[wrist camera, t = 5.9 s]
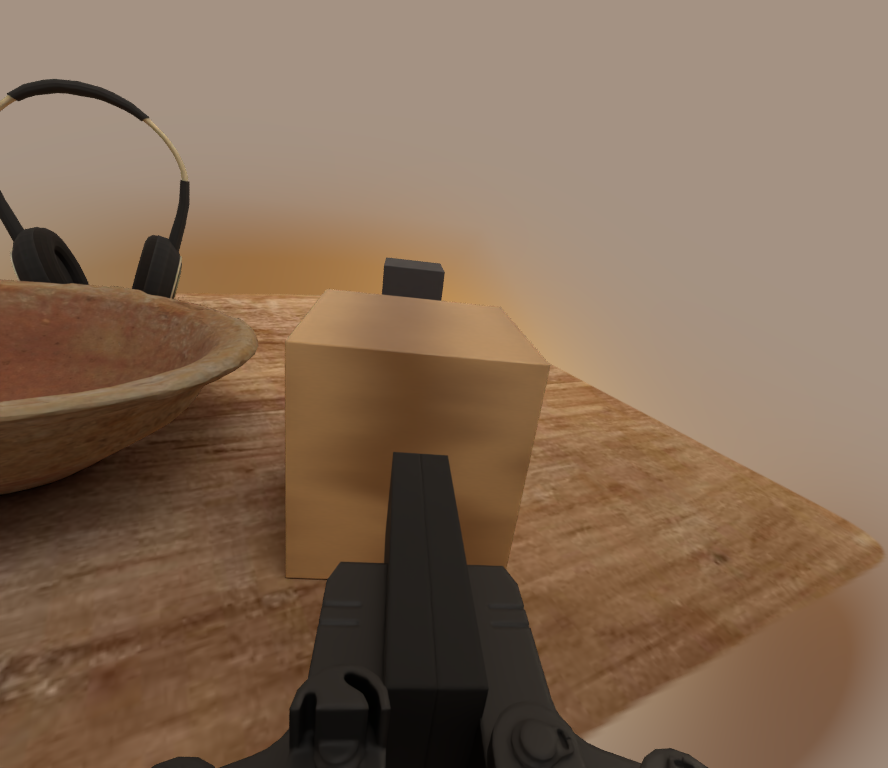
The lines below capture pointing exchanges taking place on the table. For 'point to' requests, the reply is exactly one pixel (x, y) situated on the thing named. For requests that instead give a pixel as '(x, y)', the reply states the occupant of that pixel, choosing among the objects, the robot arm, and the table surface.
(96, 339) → the bowl
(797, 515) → the table surface
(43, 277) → the headphones
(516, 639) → the robot arm
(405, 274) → the block
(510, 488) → the push block
